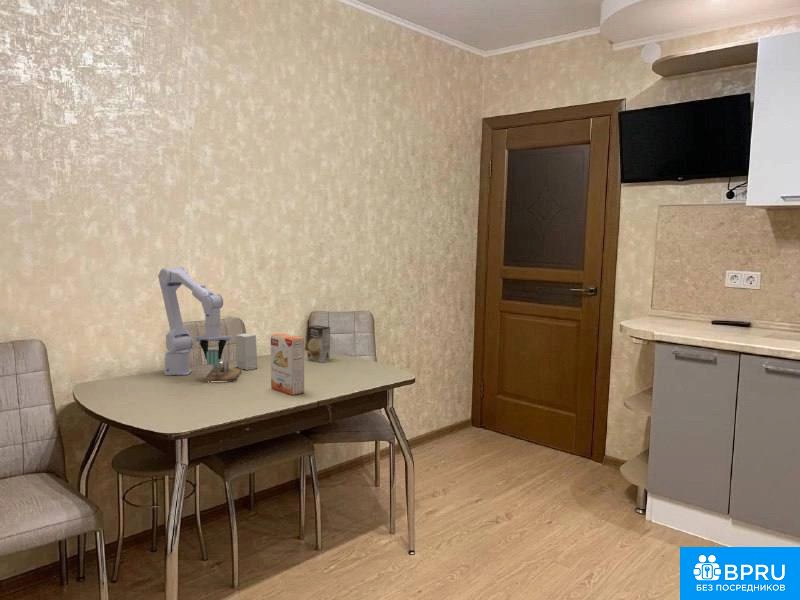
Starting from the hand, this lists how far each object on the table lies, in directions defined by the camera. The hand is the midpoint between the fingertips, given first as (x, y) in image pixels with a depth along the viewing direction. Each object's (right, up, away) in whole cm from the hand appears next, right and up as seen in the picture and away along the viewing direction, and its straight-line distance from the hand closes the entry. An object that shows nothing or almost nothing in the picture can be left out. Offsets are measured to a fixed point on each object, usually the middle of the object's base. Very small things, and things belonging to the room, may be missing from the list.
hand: (213, 358), depth 250 cm
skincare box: (+8, -6, +23) cm, 25 cm away
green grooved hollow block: (0, -2, 0) cm, 2 cm away
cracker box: (+32, -11, -15) cm, 37 cm away
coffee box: (+37, -5, +42) cm, 56 cm away
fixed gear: (0, -6, +10) cm, 12 cm away
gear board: (+3, -8, +6) cm, 10 cm away
